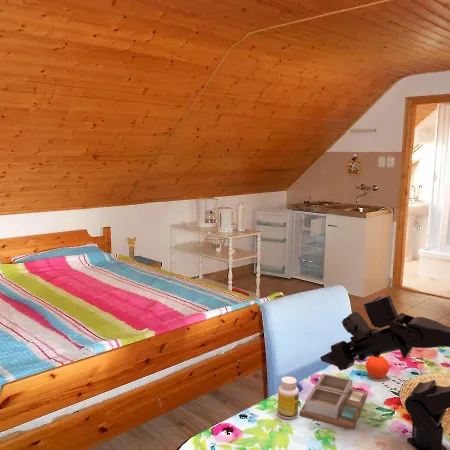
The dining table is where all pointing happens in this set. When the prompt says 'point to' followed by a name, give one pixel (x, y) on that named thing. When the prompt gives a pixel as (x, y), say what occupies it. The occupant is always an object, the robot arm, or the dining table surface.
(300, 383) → the dining table surface
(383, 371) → the clementine
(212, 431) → the dining table surface
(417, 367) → the dining table surface
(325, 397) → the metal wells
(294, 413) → the supplement bottle
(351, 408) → the socket board
